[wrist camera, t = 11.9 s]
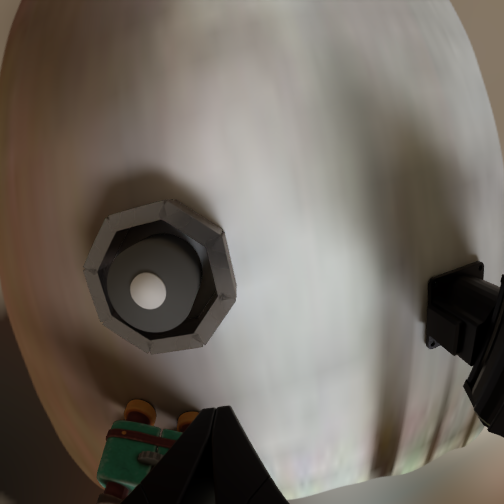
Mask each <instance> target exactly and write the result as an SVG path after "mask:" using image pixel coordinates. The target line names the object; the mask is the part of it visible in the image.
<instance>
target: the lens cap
mask: <svg viewBox="0 0 504 504" xmlns="http://www.w3.org/2000/svg"><path fill="white" fill-rule="evenodd" d="M201 281H202V265H201V261H200V258H199V256H198V254H197V252H196V251H195V249H194V248H193V247H192V246H191V245H190V244H189V243H188V242H187V241H185V240H184V239H182V238H180V237H178V236H175V235H172V234H155V235H152V236H150V237H148V238H146V239H144V240H142V241H140V242H138V243H136V244H135V245H133V246H131V247H129V248H127V249H125V250H124V251H123V252H121V253H120V254H119V255H118V256H117V257H116V258H115V260H114V261H113V263H112V265H111V267H110V269H109V273H108V278H107V289H108V294H109V298H110V301H111V303H112V305H113V307H114V309H115V310H116V312H117V313H118V314H119V315H120V316H121V318H123V319H124V320H125V321H126V322H127V323H129V324H130V325H132V326H133V327H135V328H137V329H140V330H143V331H147V332H164V331H168V330H171V329H173V328H175V327H177V326H178V325H179V324H181V323H182V322H183V321H184V320H185V319H186V317H187V316H188V314H189V313H190V311H191V308H192V306H193V303H194V300H195V298H196V295H197V292H198V290H199V287H200V284H201Z"/></svg>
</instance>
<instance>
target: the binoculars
mask: <svg viewBox="0 0 504 504" xmlns="http://www.w3.org/2000/svg"><path fill="white" fill-rule="evenodd" d="M198 414H199V413H198V412H186V413H183V414H182V415H181V416H180V417H179V419H178V423H177V431H173V430H168V429H164V430H163V431H162V435H161V437H159V435H160V431H161V429H160V428H159V427H155V426H154V423H155V420H156V412H155V410H154V408H153V407H152V406H151V405H150V404H148V403H147V402H145V401H142V400H132V401H130V402H129V403H128V404H127V406H126V409H125V411H124V417H125V419H126V421H125V420H118V421H115V422H114V423H113V425H112V428H111V429H110V430H109V431H108V434H107V436H106V441H107V442H106V445H105V448H104V451H103V455H102V458H101V461H100V465H99V468H98V472H97V479H98V481H99V483H100V484H101V485H102V486H103V487H105V491H104V494H103V493H102V494H100V495H99V498H98V501H97V504H120V503H121V502H122V501H123V500H124V499H125V498H126V497H127V496H128V495H129V494H130V493H131V492H132V491H133V490H134V488H135V487H136V486H137V485H138V484H140V482H141V481H142V480H143V479H144V478H145V476H146V475H147V474H148V473H149V472H150V471H151V470H152V469H153V467H154V466H155V465H156V464H157V463H158V462H159V461H160V459H161V458H162V457H163V456H164V455H165V454H166V452H167V451H168V450H169V449H170V448H171V447H172V445H173V444H174V443H175V442H176V441H177V439H178V438H179V437H180V436H181V435H182V433H183V432H184V431H185V430H186V429H187V427H188V426H189V425H190V424H191V422H192V421H193V420H194V419H195V418H196V416H197V415H198ZM158 446H159V447H158ZM157 448H158V451H157Z"/></svg>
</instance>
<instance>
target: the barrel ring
mask: <svg viewBox="0 0 504 504" xmlns="http://www.w3.org/2000/svg"><path fill="white" fill-rule="evenodd" d="M161 219H162V220H164V221H166V222H167V223H169V224H170V225H172V226H173V227H175V228H176V229H178V230H180V231H181V232H183V233H184V234H186V235H187V236H189V237H191V238H192V239H194V240H195V241H197V242H198V243H200V244H202V245H203V246H205V247H206V249H207V253H208V257H209V262H210V266H211V270H212V274H213V278H214V282H215V286H216V291H215V292H214V294H213V295H212V297H211V298H210V300H209V302H208V303H207V305H206V306H205V308H204V309H203V311H202V312H201V314H200V315H199V317H197V318H191V319H185V320H184V321H183V322H182V323H181V324H179V325H178V326H177V327H175V328H173V329H171V330H168V331H164V332H147V331H143V330H140V329H137V328H135V327H133V326H132V325H130V324H129V323H127V322H126V321H125V320H124V319H123V318H121V316H120V315H119V314H118V313H117V312H116V310H115V309H114V307H113V305H112V303H111V301H110V298H109V294H108V289H107V278H108V273H109V269H110V267H111V265H112V263H113V260H114V258H115V256H116V254H117V252H118V250H119V248H120V246H121V244H122V242H123V240H124V238H125V236H126V234H127V233H128V231H129V229H130V227H134V226H138V225H142V224H145V223H149V222H153V221H157V220H161ZM222 230H223V229H221V228H220V227H218V226H217V225H215V224H214V223H212V222H210V221H209V220H207V219H206V218H204V217H203V216H201V215H199V214H198V213H196V212H195V211H193V210H192V209H190V208H188V207H187V206H185V205H184V204H182V203H180V202H179V201H177V200H173V199H170V200H162V201H159V202H155V203H151V204H147V205H144V206H140V207H136V208H133V209H129V210H126V211H122V212H119V213H115V214H112V215H109V216H108V217H107V218H105V220H104V222H103V224H102V226H101V228H100V230H99V233H98V235H97V237H96V239H95V241H94V243H93V246H92V248H91V250H90V252H89V254H88V257H87V259H86V261H85V264H84V266H83V267H84V268H85V269H84V270H83V272H84V275H85V278H86V281H87V285H88V288H89V291H90V294H91V297H92V300H93V303H94V306H95V308H96V311H97V314H98V317H99V319H100V322H103V321H104V322H103V324H102V325H104V326H105V327H107V328H108V329H110V330H111V331H113V332H114V333H116V334H117V335H119V336H120V337H122V338H124V339H125V340H127V341H128V342H130V343H131V344H133V345H135V346H136V347H138V348H139V349H141V350H143V351H144V352H146V353H149V351H150V353H151V354H158V353H166V352H173V351H180V350H186V349H193V348H199V347H203V344H204V345H206V344H207V342H208V341H209V339H210V338H211V336H212V335H213V334H214V332H215V331H216V329H217V328H218V326H219V325H220V323H221V322H222V320H223V319H224V318H225V316H226V315H227V313H228V312H229V310H230V309H231V307H232V306H233V304H234V303H235V301H236V288H237V284H236V280H235V276H234V271H233V267H232V263H231V258H230V254H229V250H228V245H227V241H226V236H225V232H222ZM221 232H222V233H221Z"/></svg>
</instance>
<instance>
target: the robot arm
mask: <svg viewBox="0 0 504 504" xmlns="http://www.w3.org/2000/svg"><path fill="white" fill-rule="evenodd" d="M483 276H484V264H483V263H482V262H480V261H477V262H475V263H472V264H469V265H466V266H464V267H461V268H458V269H455V270H452V271H449V272H447V273H444V274H441V275H438V276H435V277H432V278H431V279H430V280H429V283H428V309H427V331H426V333H427V338H426V346H427V347H428V348H429V349H433V348H436V347H438V346H440V345H441V346H442V347H444V348H445V349H446V350H447V351H448V352H450V353H451V354H452V355H453V356H455V355H458V356H459V357H460V358H462V359H463V360H464V361H465V362H466V363H468V364H469V365H470V366H473V365H474V366H473V368H472V370H471V372H470V375H469V377H468V379H467V380H466V381H465V383H464V385H463V387H464V389H465V391H466V393H467V395H468V397H469V399H470V401H471V403H472V405H473V407H474V411H475V413H476V414H477V415H478V417H479V419H480V421H481V422H482V423H483V425H484V426H486V427H488V429H487V430H488V431H489V432H491V433H494V434H497V435H500V436H502V437H504V274H502V277H501V286H500V287H498V286H496V285H494V284H492V283H489V282H487V281H485V280H483ZM434 282H435V285H434V286H433V284H434ZM431 343H432V344H431ZM120 504H289V503H288V501H287V500H286V499H285V497H284V496H283V495H282V493H281V492H280V490H279V489H278V487H277V486H276V484H275V483H274V481H273V479H272V478H271V477H270V475H269V473H268V471H267V470H266V468H265V466H264V465H263V463H262V461H261V460H260V458H259V456H258V455H257V453H256V451H255V449H254V448H253V446H252V444H251V442H250V441H249V439H248V437H247V435H246V433H245V432H244V430H243V428H242V426H241V424H240V422H239V421H238V419H237V417H236V415H235V413H234V411H233V409H232V407H231V406H222V407H218V408H217V409H216V408H206V409H202V410H201V411H200V413H199V414H198V415H197V416H196V418H195V419H194V420H193V421H192V422H191V424H190V425H189V426H188V427H187V429H186V430H185V431H184V432H183V433H182V435H181V436H180V437H179V438H178V439H177V441H176V442H175V443H174V444H173V445H172V447H171V448H170V449H169V450H168V451H167V452H166V454H165V455H164V456H163V457H162V458H161V459H160V461H159V462H158V463H157V464H156V465H155V466H154V467H153V469H152V470H151V471H150V472H149V473H148V474H147V475H146V476H145V478H144V479H143V480H142V481H141V482H140V484H138V485H137V486H136V487H135V488H134V490H133V491H132V492H131V493H130V494H129V495H128V496H127V497H126V498H125V499H124V500H123V501H122V502H121V503H120Z"/></svg>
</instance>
